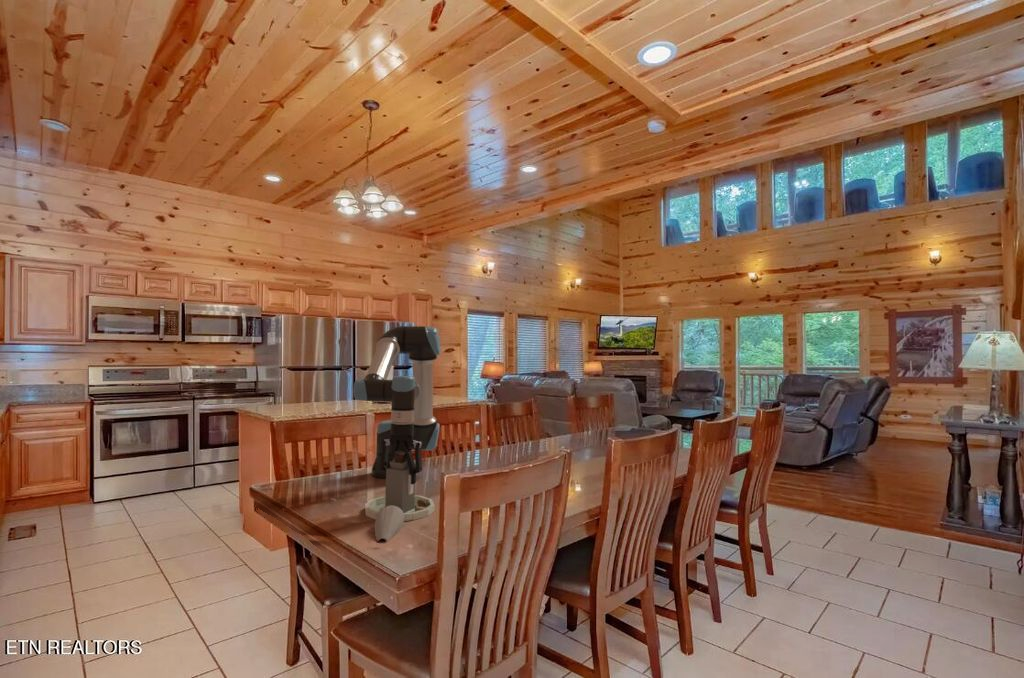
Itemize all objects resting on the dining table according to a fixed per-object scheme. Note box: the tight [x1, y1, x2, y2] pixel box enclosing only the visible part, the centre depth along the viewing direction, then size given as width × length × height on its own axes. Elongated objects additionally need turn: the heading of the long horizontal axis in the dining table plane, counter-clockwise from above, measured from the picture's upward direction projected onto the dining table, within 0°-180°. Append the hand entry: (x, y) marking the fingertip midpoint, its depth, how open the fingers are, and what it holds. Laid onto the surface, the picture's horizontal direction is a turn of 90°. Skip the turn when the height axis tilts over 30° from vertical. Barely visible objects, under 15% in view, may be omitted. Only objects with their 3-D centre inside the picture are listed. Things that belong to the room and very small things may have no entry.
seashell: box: [374, 505, 405, 543], centre depth 150 cm, size 9×11×15 cm
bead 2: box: [415, 507, 424, 512], centre depth 166 cm, size 3×3×2 cm
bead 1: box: [417, 499, 426, 507], centre depth 174 cm, size 3×3×2 cm
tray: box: [364, 494, 436, 522], centre depth 169 cm, size 22×22×3 cm
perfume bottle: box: [385, 453, 416, 513], centre depth 170 cm, size 7×7×18 cm
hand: (400, 492), depth 170 cm, fingers open, 6 cm apart
